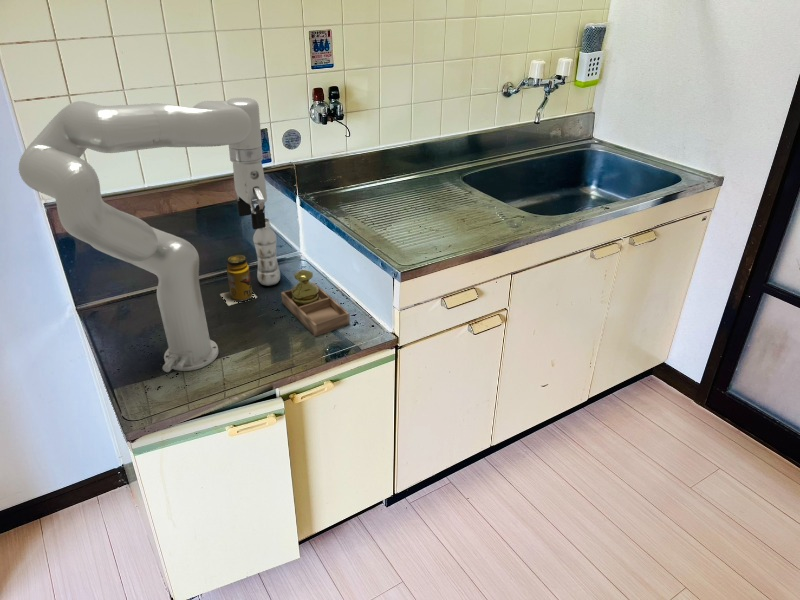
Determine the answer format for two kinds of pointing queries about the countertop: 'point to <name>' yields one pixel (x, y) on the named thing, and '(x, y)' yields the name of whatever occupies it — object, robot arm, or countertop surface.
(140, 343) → the countertop surface
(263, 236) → the plastic bottle
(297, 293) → the brass weight
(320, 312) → the caddy
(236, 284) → the condiment
